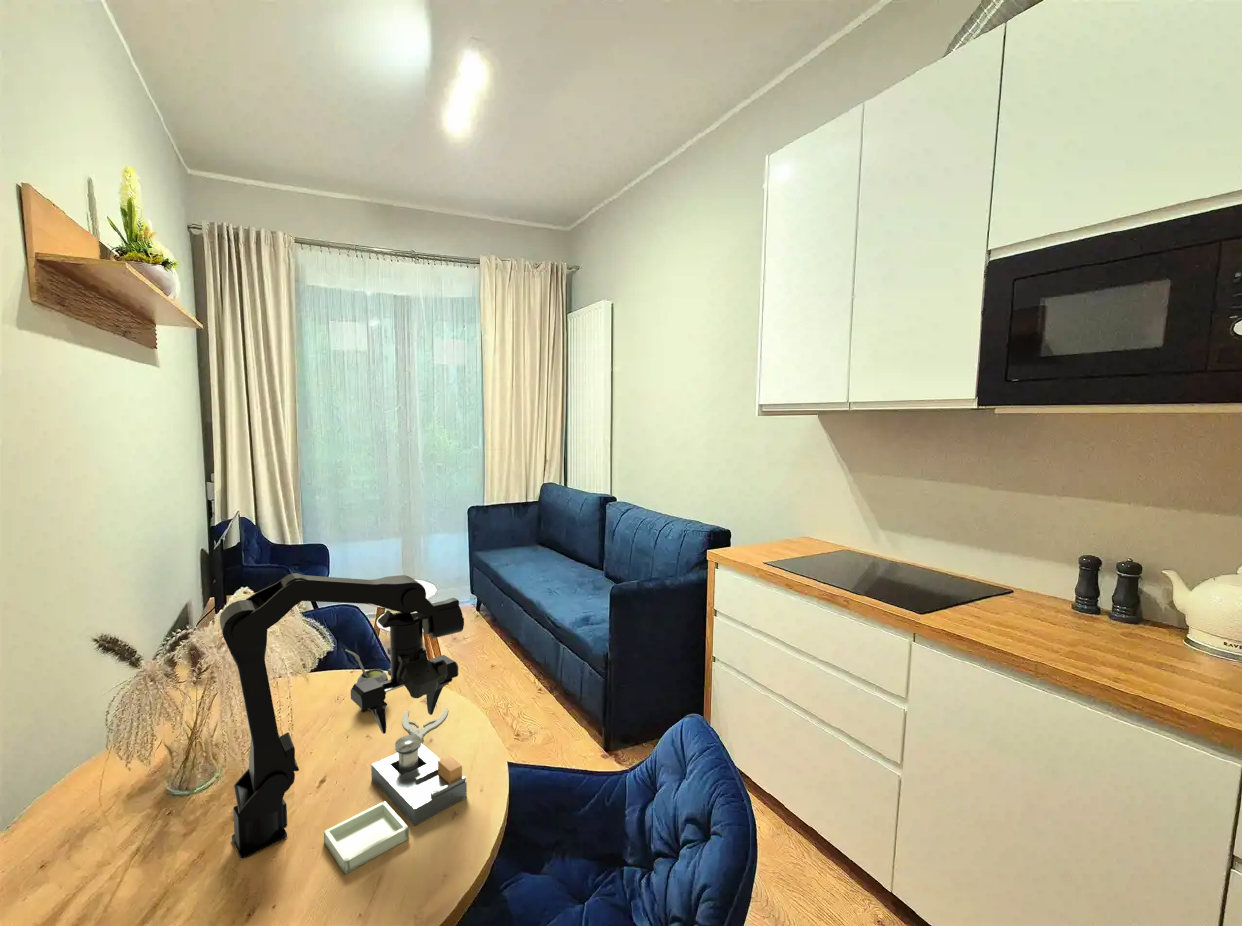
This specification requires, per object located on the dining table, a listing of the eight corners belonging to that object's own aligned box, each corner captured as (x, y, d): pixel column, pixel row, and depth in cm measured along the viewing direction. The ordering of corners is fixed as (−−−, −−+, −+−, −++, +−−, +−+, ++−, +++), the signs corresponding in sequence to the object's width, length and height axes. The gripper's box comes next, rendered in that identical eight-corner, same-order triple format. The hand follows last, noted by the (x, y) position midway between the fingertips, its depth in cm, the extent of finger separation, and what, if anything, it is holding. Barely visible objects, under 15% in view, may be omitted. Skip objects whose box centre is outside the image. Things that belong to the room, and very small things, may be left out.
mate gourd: (395, 702, 134) (394, 642, 133) (369, 718, 127) (367, 655, 126) (372, 695, 137) (370, 637, 136) (345, 711, 130) (343, 649, 129)
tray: (345, 874, 84) (345, 862, 83) (324, 842, 90) (323, 831, 90) (408, 838, 91) (408, 827, 91) (385, 811, 97) (384, 800, 97)
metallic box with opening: (414, 825, 94) (414, 805, 93) (371, 779, 106) (371, 760, 105) (466, 797, 101) (466, 778, 101) (420, 756, 113) (420, 739, 113)
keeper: (450, 784, 100) (450, 771, 100) (438, 773, 103) (437, 760, 103) (462, 778, 101) (461, 765, 101) (449, 767, 104) (449, 755, 104)
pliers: (449, 704, 131) (435, 741, 116) (449, 711, 131) (435, 748, 116) (406, 706, 130) (387, 744, 115) (406, 713, 130) (387, 751, 115)
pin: (402, 790, 103) (401, 752, 102) (391, 779, 106) (390, 741, 105) (425, 778, 106) (425, 741, 105) (414, 768, 109) (413, 732, 108)
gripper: (374, 674, 91) (376, 763, 92) (473, 642, 105) (473, 720, 106) (348, 653, 99) (350, 736, 100) (443, 626, 112) (444, 699, 114)
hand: (407, 723), depth 105 cm, fingers open, 9 cm apart
